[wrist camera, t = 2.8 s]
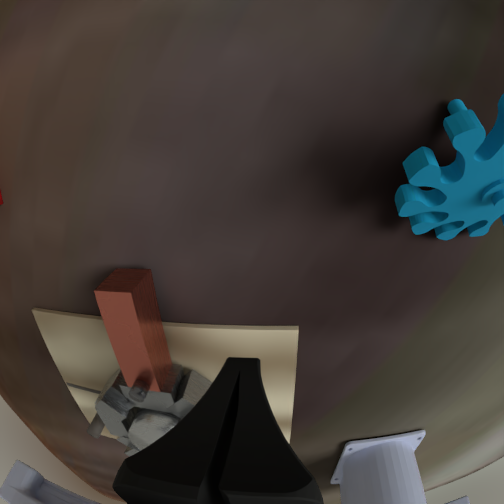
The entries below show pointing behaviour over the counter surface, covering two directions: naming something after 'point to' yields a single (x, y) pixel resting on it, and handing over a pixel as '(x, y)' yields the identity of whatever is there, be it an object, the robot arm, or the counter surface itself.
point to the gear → (457, 179)
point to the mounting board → (181, 352)
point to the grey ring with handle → (140, 357)
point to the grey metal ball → (150, 426)
